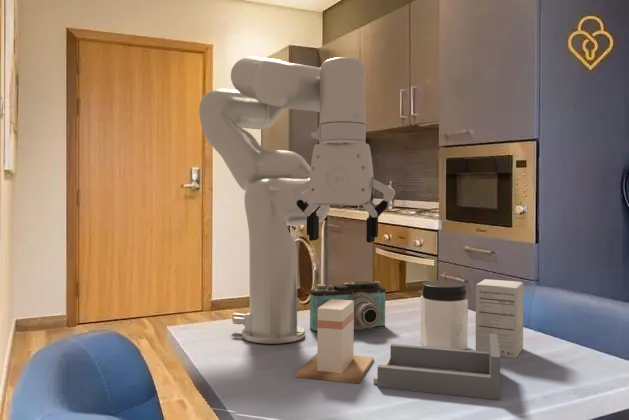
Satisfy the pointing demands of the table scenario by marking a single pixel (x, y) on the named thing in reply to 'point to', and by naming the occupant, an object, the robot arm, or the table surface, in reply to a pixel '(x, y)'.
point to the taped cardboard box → (335, 335)
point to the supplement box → (500, 315)
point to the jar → (444, 315)
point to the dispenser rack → (443, 379)
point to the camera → (365, 302)
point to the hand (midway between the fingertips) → (341, 240)
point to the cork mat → (350, 374)
